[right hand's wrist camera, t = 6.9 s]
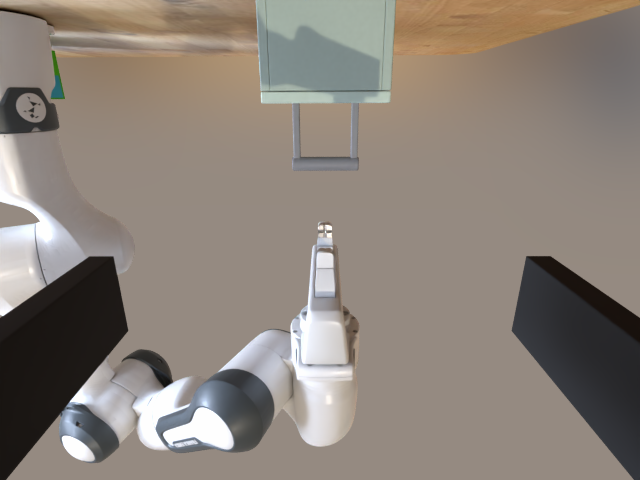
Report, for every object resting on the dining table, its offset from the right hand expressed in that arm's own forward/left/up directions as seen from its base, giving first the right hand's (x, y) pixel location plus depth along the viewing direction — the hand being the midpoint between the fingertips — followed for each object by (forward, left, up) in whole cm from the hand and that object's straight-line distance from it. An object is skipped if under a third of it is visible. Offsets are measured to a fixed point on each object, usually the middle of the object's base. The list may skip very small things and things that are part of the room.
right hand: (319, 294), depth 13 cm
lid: (+8, -26, -6) cm, 28 cm away
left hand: (+9, -31, +9) cm, 33 cm away
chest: (+8, -26, -16) cm, 31 cm away
